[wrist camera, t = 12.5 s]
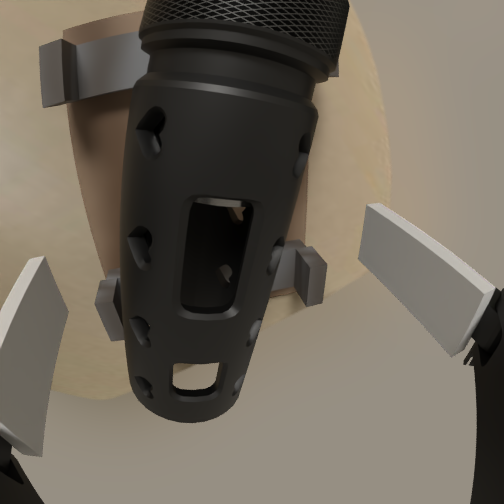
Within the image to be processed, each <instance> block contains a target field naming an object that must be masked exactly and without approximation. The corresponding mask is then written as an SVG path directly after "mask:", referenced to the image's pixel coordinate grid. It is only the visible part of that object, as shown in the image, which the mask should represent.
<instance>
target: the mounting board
mask: <svg viewBox="0 0 504 504" xmlns="http://www.w3.org/2000/svg"><path fill="white" fill-rule="evenodd" d="M143 13H144V11H139V12H134V13H128V14H123V15H118V16H114V17H109V18H105V19H101V20H97V21H93V22H89V23H86V24H82V25H79V26H75V27H72V28H69V29H66V30H63V39H59V40H56V41H53V42H50V43H48V44H45V45H42V46H40V47H39V58H40V81H41V94H42V104H43V108H46V107H52V106H59V105H62V104H66V103H67V112H68V120H69V127H70V134H71V141H72V147H73V153H74V159H75V164H76V169H77V174H78V179H79V184H80V188H81V193H82V197H83V201H84V205H85V209H86V213H87V217H88V221H89V225H90V228H91V232H92V236H93V239H94V243H95V246H96V249H97V253H98V256H99V259H100V262H101V265H102V268H103V271H104V274H105V277H106V280H102V281H100V284H99V288H98V292H97V296H96V300H95V306H96V309H97V311H98V313H99V316H100V318H101V320H102V322H103V325H104V327H105V329H106V331H107V333H108V335H109V338H110V340H111V341H119V340H124V329H123V318H122V304H121V285H120V203H121V185H122V171H123V159H124V149H125V139H126V131H127V123H128V116H129V109H130V102H131V96H132V90H133V86H134V84H135V83H136V81H137V80H138V79H140V78H141V77H142V76H144V75H145V74H146V73H147V68H148V63H149V58H150V55H149V54H147V53H145V52H144V51H143V50H141V43H142V41H141V40H140V39H139V35H138V34H139V28H140V24H141V20H142V17H143ZM329 77H339V65H338V63H337V67H336V70H335V71H334V72H332V73H330V74H329ZM307 187H308V160H307V163H306V167H305V171H304V175H303V179H302V183H301V186H300V190H299V194H298V198H297V201H296V205H295V209H294V212H293V216H292V220H291V223H290V227H289V230H288V234H287V238H286V241H285V245H284V248H283V252H282V255H281V259H280V262H279V266H278V269H277V273H276V276H275V280H274V283H273V286H272V290H271V293H270V297H274V296H279V295H284V294H289V293H293V292H297V293H298V294H299V296H300V297H301V299H302V301H303V302H304V304H305V305H306V307H308V306H313V305H317V304H321V303H322V301H323V294H324V287H325V280H326V272H327V263H326V262H325V261H324V260H323V259H322V257H321V256H320V255H319V254H318V253H317V252H316V250H315V249H314V248H313V247H312V246H310V247H306V246H305V230H306V210H307ZM232 208H233V210H234V212H235V213H236V215H237V217H238V219H239V220H243V215H242V211H243V210H244V209H245V208H246V207H232ZM219 269H220V270H221V272H222V273H223V275H224V277H225V279H226V280H227V281H228V282H229V277H230V276H231V275H232V270H231V268H230V267H229V266H228V265H223V266H221V267H220V268H219ZM229 283H230V282H229Z"/></svg>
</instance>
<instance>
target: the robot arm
mask: <svg viewBox="0 0 504 504" xmlns="http://www.w3.org/2000/svg"><path fill="white" fill-rule="evenodd" d="M358 260H359V261H361V262H362V263H363V264H364V265H365V266H366V267H367V268H368V269H369V270H370V271H371V272H372V273H373V274H374V275H375V276H376V277H377V278H378V279H379V280H380V281H381V282H382V283H383V284H384V285H385V286H386V287H387V288H388V289H389V290H390V291H391V292H392V293H393V294H394V296H395V297H397V299H398V300H399V301H400V302H401V303H402V304H403V305H404V306H405V307H406V308H407V309H408V310H409V311H410V312H411V313H412V314H413V315H414V317H416V319H417V320H418V321H419V322H420V323H421V324H422V325H423V326H424V327H425V328H426V329H427V331H428V332H429V333H430V334H431V335H432V336H433V337H434V338H435V339H436V341H437V342H438V343H439V344H440V345H441V346H442V347H443V348H444V350H446V352H447V353H448V354H449V355H450V356H451V357H453V356H455V355H456V354H458V353H459V352H461V351H463V350H464V349H465V347H466V345H467V344H468V342H469V340H470V338H471V337H472V338H473V339H474V340H475V343H474V345H473V346H472V348H471V350H470V351H469V353H468V355H467V356H466V358H465V359H464V365H466V364H467V362H468V361H469V359H470V358H471V357H473V359H472V360H471V362H470V364H469V365H470V366H474V372H475V385H476V406H477V438H476V440H477V441H476V458H475V471H474V480H473V488H472V496H471V502H470V504H504V288H503V289H502V291H500V290H498V289H497V288H496V287H495V286H494V285H492V284H491V283H490V282H489V281H488V280H486V279H485V278H484V277H483V276H481V275H480V274H479V273H478V272H477V271H475V270H474V269H473V268H471V267H470V266H469V265H468V264H466V263H465V262H464V261H463V260H461V259H460V258H459V257H458V256H456V255H454V254H453V253H452V252H451V251H449V250H448V249H447V248H445V247H444V246H443V245H441V244H440V243H439V242H437V241H436V240H434V239H433V238H432V237H430V236H429V235H427V234H426V233H424V232H423V231H421V230H420V229H419V228H417V227H416V226H414V225H413V224H411V223H410V222H408V221H407V220H405V219H404V218H402V217H401V216H399V215H398V214H396V213H395V212H393V211H392V210H390V209H389V208H387V207H386V206H384V205H382V204H381V203H374V204H366V211H365V219H364V226H363V232H362V239H361V245H360V251H359V257H358ZM68 313H69V311H68V309H67V307H66V305H65V303H64V300H63V298H62V296H61V294H60V292H59V289H58V287H57V285H56V282H55V280H54V278H53V275H52V273H51V270H50V268H49V265H48V263H47V260H46V257H45V256H41V257H36V258H31V259H29V261H28V262H27V264H26V266H25V267H24V269H23V271H22V272H21V274H20V276H19V277H18V279H17V281H16V283H15V284H14V286H13V288H12V290H11V292H10V294H9V295H8V297H7V299H6V301H5V303H4V305H3V307H2V309H1V311H0V504H44V502H43V501H42V499H41V498H40V497H39V495H38V494H37V492H36V490H35V489H34V487H33V486H32V484H31V483H30V481H29V479H28V478H27V476H26V474H25V473H24V471H23V469H22V468H21V466H20V464H19V462H18V461H17V459H16V458H15V457H14V455H12V454H11V449H12V446H13V447H14V448H15V449H17V450H18V451H19V452H21V453H22V454H24V455H30V456H39V457H42V450H43V439H44V430H45V422H46V414H47V407H48V400H49V394H50V389H51V383H52V378H53V373H54V368H55V364H56V359H57V355H58V350H59V346H60V342H61V338H62V334H63V331H64V327H65V323H66V320H67V316H68Z"/></svg>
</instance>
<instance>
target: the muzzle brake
mask: <svg viewBox="0 0 504 504" xmlns="http://www.w3.org/2000/svg"><path fill="white" fill-rule="evenodd" d="M349 7H350V6H349V2H348V0H147V3H146V6H145V10H144V13H143V17H142V20H141V24H140V28H139V34H138V35H139V39H140V40H141V41H142V43H141V50H143V51H144V52H145V53H147V54H149V55H150V58H149V63H148V68H147V73H146V74H145V75H144V76H142V77H141V78H140V79H138V80H137V81H136V83H135V84H134V86H133V90H132V96H131V102H130V109H129V116H128V123H127V131H126V139H125V149H124V159H123V171H122V185H121V203H120V285H121V304H122V318H123V329H124V340H125V349H126V358H127V365H128V373H129V380H130V384H131V387H132V390H133V392H134V394H135V395H136V397H137V399H138V400H139V401H140V402H141V403H142V404H143V405H144V406H145V407H146V408H147V409H148V410H150V411H152V412H153V413H155V414H156V415H158V416H161V417H163V418H165V419H168V420H172V421H176V422H181V423H182V422H183V423H196V422H204V421H208V420H211V419H214V418H216V417H218V416H220V415H222V414H223V413H225V412H226V411H228V410H229V409H230V408H231V407H232V406H233V405H234V403H235V402H236V400H237V398H238V396H239V393H240V390H241V387H242V384H243V381H244V378H245V374H246V371H247V368H248V365H249V362H250V359H251V356H252V352H253V349H254V346H255V343H256V339H257V336H258V333H259V330H260V327H261V323H262V320H263V317H264V313H265V310H266V307H267V303H268V300H269V297H270V293H271V290H272V286H273V283H274V280H275V276H276V273H277V269H278V266H279V262H280V259H281V255H282V252H283V248H284V245H285V241H286V238H287V234H288V230H289V227H290V223H291V220H292V216H293V212H294V209H295V205H296V201H297V198H298V194H299V190H300V186H301V183H302V179H303V175H304V171H305V167H306V163H307V160H308V156H309V152H310V148H311V144H312V140H313V136H314V132H315V128H316V124H317V120H318V112H317V109H316V108H315V106H314V105H313V103H312V102H311V100H312V96H313V92H314V88H315V84H316V83H322V82H325V81H328V77H329V74H330V73H332V72H334V71H335V70H336V67H337V63H338V59H339V54H340V50H341V45H342V41H343V36H344V31H345V27H346V22H347V17H348V12H349ZM232 207H246V208H245V209H244V210H243V211H242V215H243V220H239V219H238V217H237V215H236V213H235V212H234V210H233V208H232ZM223 265H228V266H229V267H230V268H231V270H232V275H231V276H230V277H229V282H230V283H229V282H228V281H227V280H226V279H225V277H224V275H223V273H222V272H221V270H220V269H219V268H220V267H221V266H223ZM149 325H150V326H149ZM218 362H219V367H218V372H217V377H216V381H215V383H214V384H213V385H212V386H210V387H208V388H206V389H198V390H184V389H179V388H176V387H175V386H174V385H173V384H172V382H173V381H172V380H173V365H174V364H175V363H187V364H209V363H218Z"/></svg>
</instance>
